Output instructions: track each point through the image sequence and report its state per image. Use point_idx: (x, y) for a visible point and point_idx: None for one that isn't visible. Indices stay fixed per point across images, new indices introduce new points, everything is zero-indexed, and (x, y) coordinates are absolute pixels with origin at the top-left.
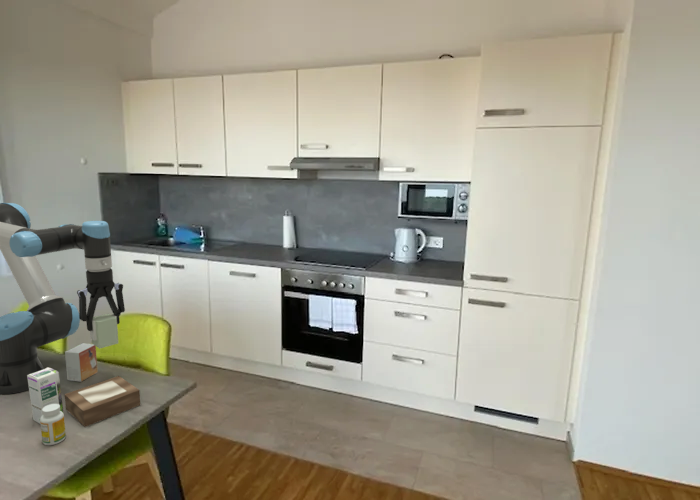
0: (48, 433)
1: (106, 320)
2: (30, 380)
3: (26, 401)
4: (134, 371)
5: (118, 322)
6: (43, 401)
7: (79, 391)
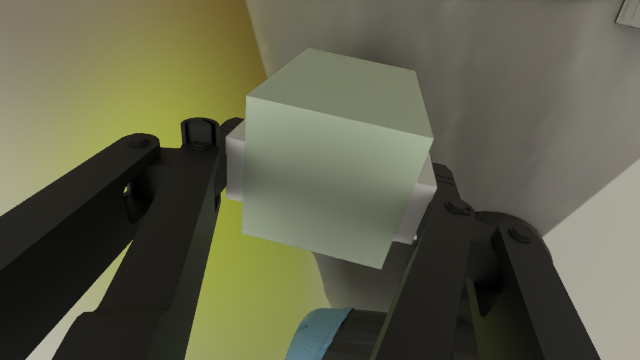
0: None
1: (344, 117)
2: None
3: (563, 163)
4: (270, 54)
5: (235, 122)
6: None
7: None
